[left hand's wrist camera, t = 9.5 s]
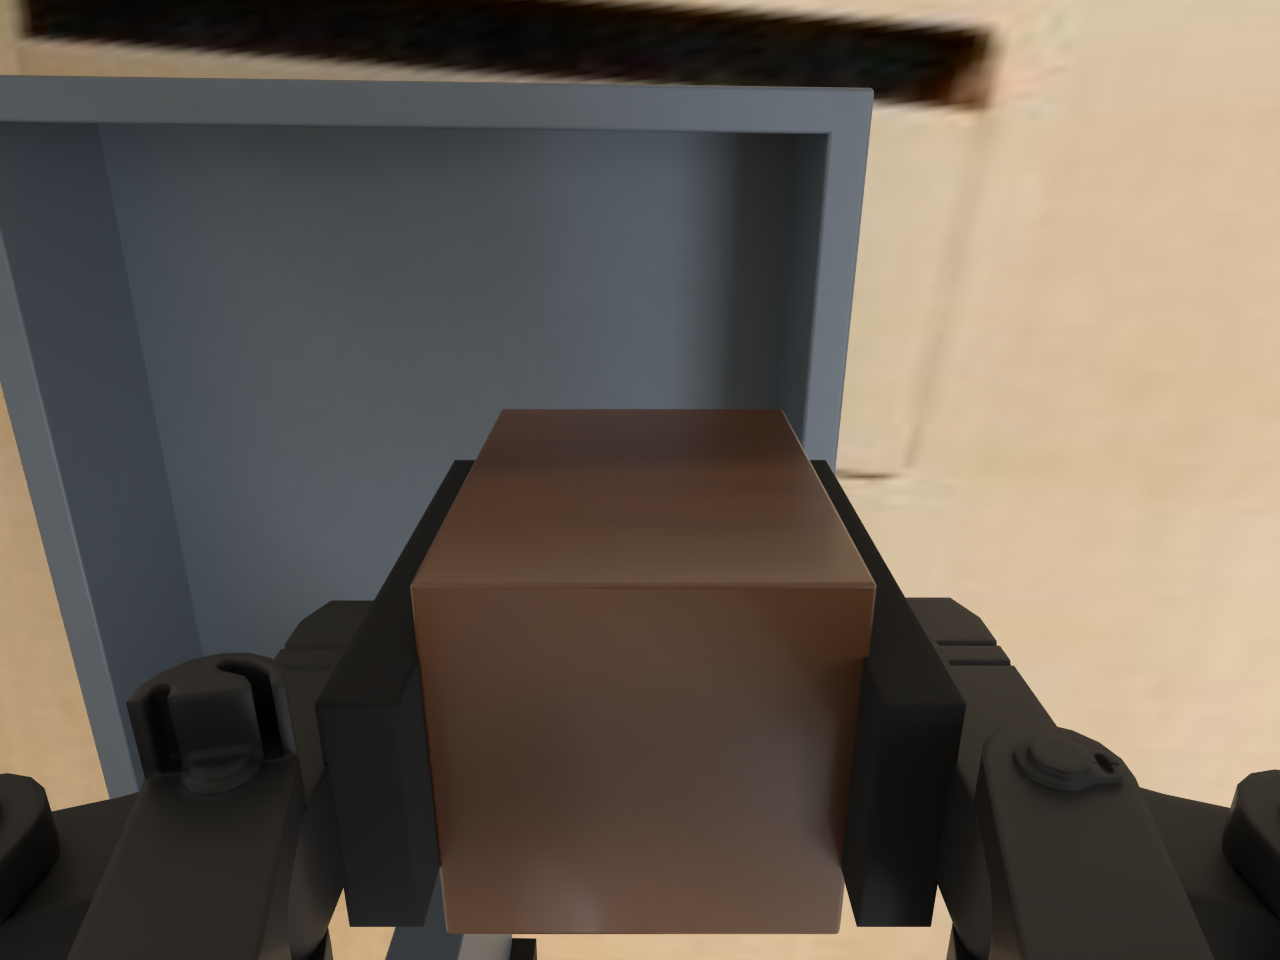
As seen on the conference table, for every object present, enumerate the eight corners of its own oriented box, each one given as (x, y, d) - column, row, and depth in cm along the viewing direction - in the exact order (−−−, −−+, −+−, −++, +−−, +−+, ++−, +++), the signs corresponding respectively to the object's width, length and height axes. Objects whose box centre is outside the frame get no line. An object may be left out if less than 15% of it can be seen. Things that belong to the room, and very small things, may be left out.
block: (500, 408, 14) (408, 584, 8) (783, 408, 14) (878, 584, 8) (515, 651, 16) (445, 936, 10) (768, 652, 16) (840, 936, 10)
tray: (70, 85, 20) (-412, 47, 11) (827, 97, 20) (979, 67, 11) (261, 1014, 32) (101, 1380, 22) (749, 1022, 32) (790, 1393, 22)
